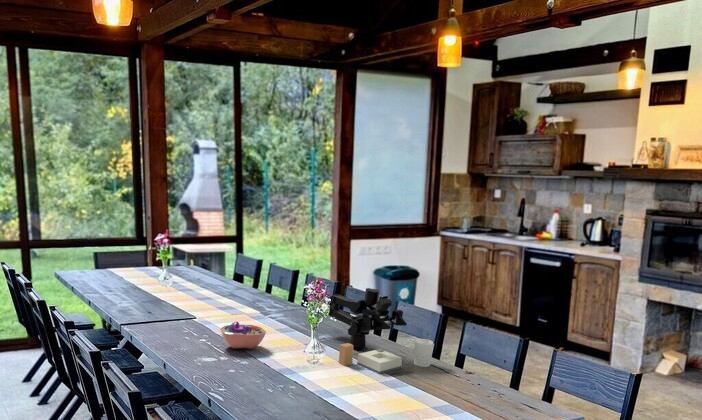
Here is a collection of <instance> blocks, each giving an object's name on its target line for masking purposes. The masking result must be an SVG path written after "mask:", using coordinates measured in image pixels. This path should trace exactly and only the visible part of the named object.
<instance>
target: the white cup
mask: <svg viewBox="0 0 702 420" xmlns="http://www.w3.org/2000/svg"><path fill="white" fill-rule="evenodd" d="M413 347H414V349H413V350H414V352H413V353H414V354H413V357H414V358H413V360H414V361H413V363H414V365H415V366H416V367H421V368H428V367H430V366H431V361H432V360H431V359H432V355H433V349H434V348H433V347H434V342H433V340H430V339H426V338H417V339H415V340H414V346H413Z"/></svg>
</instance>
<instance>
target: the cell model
mask: <svg viewBox="0 0 702 420" xmlns="http://www.w3.org/2000/svg"><path fill="white" fill-rule="evenodd" d="M219 331H220V332H221V335H222V339H223V341H224V342H225V343H226V344H227V345H228V346H229V347H230V348H232V349H235V350H236V349H247V350H249V349H250V350H251V349H254V348H257V346H258V345H260V344H261V343H262V341H263V340H264V338H265V336H266V333H267V331H266V330H265V329H264V328H263V327H261V326H258V325H254V324H240V323H239V321H234V322H232V323H231V324H226V325H224V326H221V328H220V330H219Z"/></svg>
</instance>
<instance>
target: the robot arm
mask: <svg viewBox="0 0 702 420" xmlns="http://www.w3.org/2000/svg"><path fill="white" fill-rule="evenodd" d="M379 295H380V290H379V289H377V288H370V287H367V288H365V296H364V299H359V300H357V299H356V300H355V299H352V298H349V297H346V296H343V295H341V294H332V295H330V296H329V298H330V299H331V303H330V314H329V315H330V316H329V317H333V318H334V319H336V320H339V321H340V322H342V323H344V324H346V325H347V326H349V328H347V333H348V336H350V344H352V345H354V346H353V351H361V350H365V349H366V350H367V349H368V347H367V346H366V342H367V341H366V336H369V334H370V332H371V331H378V330H391V328H392V327H391V325H390V324H388V323H391V324H392V325H395V326H400V327H402V326H403V327H405V326H407V325H408V324H407V322H406V320H405V319H404V318H403V316H404V315H403V314H404V311H403V310H402V309H399V308H398V309H394V310H393V311H391V312H392V313H391V316H390V315H389V313H390V311H389V308H390V307H392V300H391V299H389V298H380V299H379ZM340 306H341V307H344V308H347V309H349V311H350V312H351V313H353V314H354V315H356V316H354V315H352V314H350V313H348V312H346V311H344V310H342V309H340Z"/></svg>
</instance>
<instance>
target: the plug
mask: <svg viewBox="0 0 702 420" xmlns="http://www.w3.org/2000/svg"><path fill="white" fill-rule="evenodd" d="M353 346H354V345H352V344H351V343H349V342H346V343H342V344H341V343H340V344H339V353H338V364H339V365H341V366H344V367H345V366H348V365H349V366H350V365H353V356H354V349H353Z"/></svg>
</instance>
